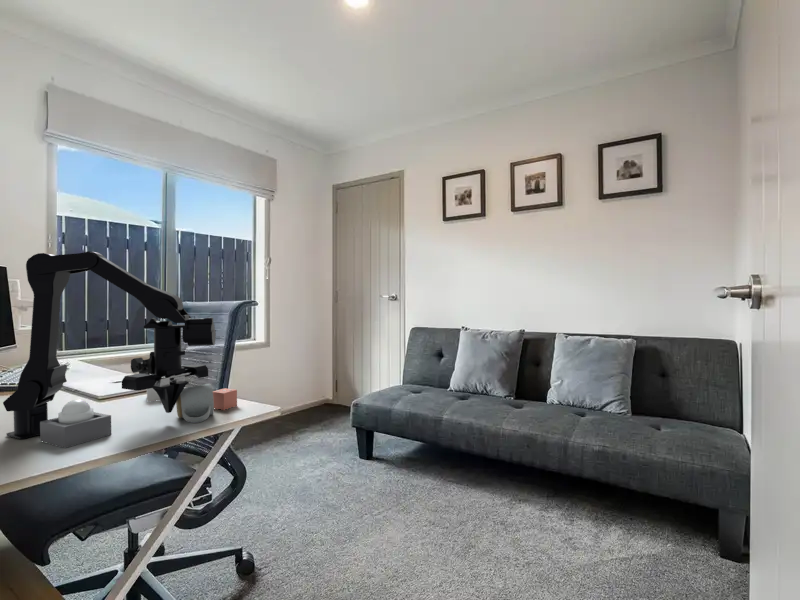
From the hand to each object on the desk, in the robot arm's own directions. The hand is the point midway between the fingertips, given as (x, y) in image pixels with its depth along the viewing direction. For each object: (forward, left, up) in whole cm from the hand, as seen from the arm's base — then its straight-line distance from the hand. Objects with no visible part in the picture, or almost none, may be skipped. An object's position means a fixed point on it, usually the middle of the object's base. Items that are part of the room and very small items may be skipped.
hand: (168, 412), depth 102 cm
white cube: (-25, +15, -3) cm, 29 cm away
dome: (-8, -15, +1) cm, 18 cm away
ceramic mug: (+2, +6, -3) cm, 7 cm away
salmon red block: (+1, +16, -3) cm, 16 cm away
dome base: (-8, -15, -3) cm, 18 cm away
